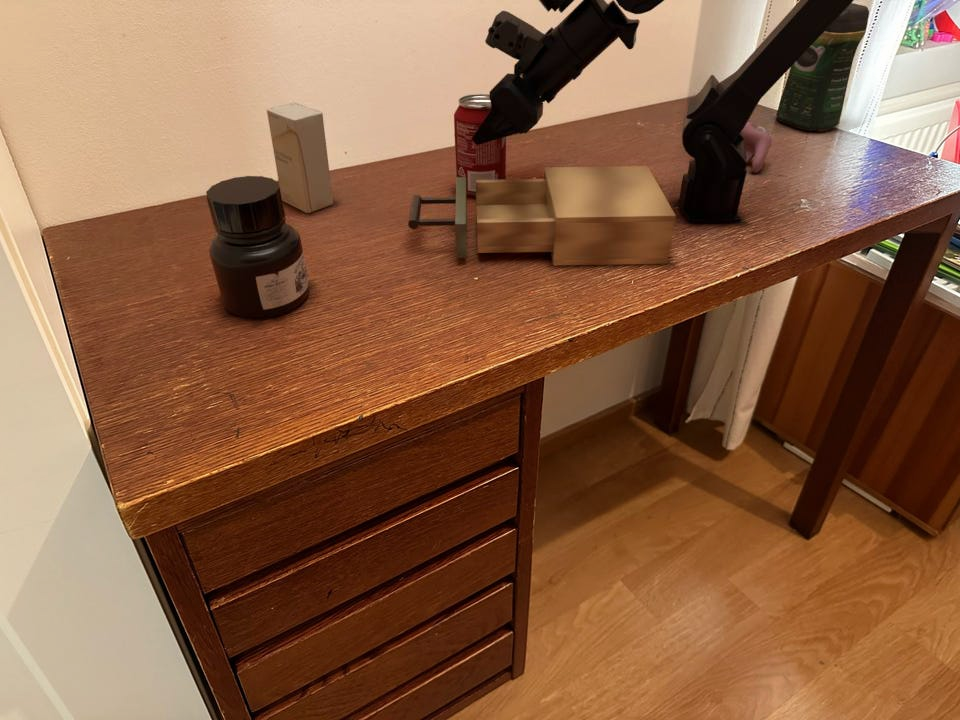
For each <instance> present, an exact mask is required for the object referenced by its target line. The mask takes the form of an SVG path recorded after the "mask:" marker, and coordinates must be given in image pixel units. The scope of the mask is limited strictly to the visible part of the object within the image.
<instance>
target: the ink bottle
mask: <svg viewBox="0 0 960 720" xmlns="http://www.w3.org/2000/svg"><path fill="white" fill-rule="evenodd" d="M205 194H206V196H205V197H206V201H207V205H208V208H209V209H208V210H209V212H210V217H211V220H212V224H213V227H214V231H215V232H216V233H217V234H216V235H215V237H214V238H213V239H212V241H211V242H210V245H209V249H208V250H209V258H210V261H211V265H212V268H213V272H214V276H215V279H216V283H217V287H218V290H219V291H218V292H219V294H220V298H221V302H222V305H223V306H224V308H225V309H226V310H227V311H228V312H230V313H232V314H235V315H237V316H242V317H246V318H247V317H248V318H268V317H275V316H279V315H283V314H285V313H288V312H290V311H292V310H293V309H295V308H297V307H298V306H300V304H302V303H303V302H304V301H305V300H306V298H307V297H308V295H309V292H310V282H309V277H308V272H307V266H306V260H305V254H304V249H303V244H302V243H303V242H302V239H301V236H300V234H299V232H298V231H297V230H296V229H295V228H294V227H293V226H292V225H290V224H287V223H286V220H287V219H286V217H287V216H286V213H285V208H284V201H282V196H281V191H280V187H279V181H277V180H275V179H273V178H272V177H266V176H263V175H244V176H236V177H232V178H228V179H223V180H221V181H220V182H217V183H215V184H213V185H211V186H210V188H208V190H205Z"/></svg>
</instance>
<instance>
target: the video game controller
mask: <svg viewBox="0 0 960 720" xmlns="http://www.w3.org/2000/svg"><path fill="white" fill-rule="evenodd" d="M740 134H741V135H742V137H743V138H744V139H745V146H746V157H747V164H748V163H750V162H751V161H752V164H751V169H752V170H751V172H752V173H754V174H757V173H759V171H760V170H761V169H762V168H763V165H764V164H765V161H766V159H767V157H768V154H769V151H770V148H771V146H772V143H773V142H772V136H771V134H770V133H769V132H768V131H767V130H766V129H765V127H762V126H760V125H757V124H755V123H753V122H750V121H748V122H747V123H746V125H745V127H744V129H743V130H742V131H741V133H740Z"/></svg>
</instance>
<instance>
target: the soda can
mask: <svg viewBox="0 0 960 720" xmlns="http://www.w3.org/2000/svg"><path fill="white" fill-rule="evenodd" d="M489 94H490V93H489ZM489 94H488V93H472V94H466V95H463V96H461V97H460V98H458V102H457V103H458V106H457V107H456V110H455V112H453V113H454V114H453V127H454V128H453V129H454V158H455V161H454V162H455V163H454V164H455V178H456V177H466V196H471V197H475V198H476V180H502V179H507V178H506V176H507V175H506V173H507V137H503V138H500V139H496V140H493V141H490V142H486V143H483V144H480V145H476V144H475V143H474V142H473V141H472V137H473V135H474V134H475V132H476V131H477V129H478V128H479V127H480V125H481V124H482V122H483V121H484V119H485V118H486V116H487V115H488V113H489V112H490V110H491V101H490V99H489Z"/></svg>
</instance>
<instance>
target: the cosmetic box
mask: <svg viewBox="0 0 960 720" xmlns="http://www.w3.org/2000/svg"><path fill="white" fill-rule="evenodd" d="M266 114H267V120H268V121H267V122H268V126H269V133H270V138H271V143H272V149H273V155H274V162H275V167H276V174H277V180H278V181H277V182H278V183H279V187H280V191H281V196H282V201H283V203H285V204H288V205H290V206H292V207H294V208H296V209H298V210H300V211H301V212H304V213H305V214H310V213H313V212H315V211H319V210H322V209H324V208H327V207H330V206H332V205H334V198H333V191H332V190H333V189H332V180H331V173H330V165H329V156H328V147H327V142H326V141H327V140H326V132H325V122H324V113H323V112H322V111H320V110H317V109H314V108H312V107H309V106H306V105H303V104H300V103H297V102H295V101H293V102H289V103H285V104H281V105H278V106H274V107H269V108H266Z"/></svg>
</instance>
